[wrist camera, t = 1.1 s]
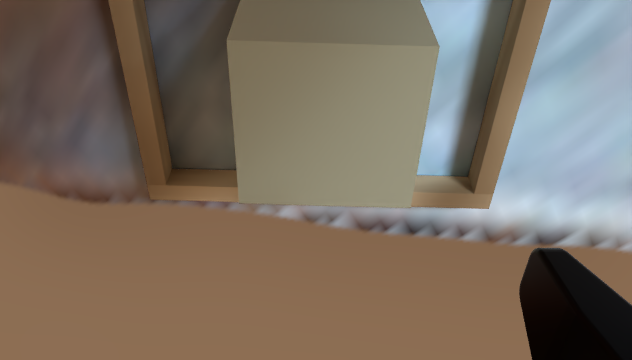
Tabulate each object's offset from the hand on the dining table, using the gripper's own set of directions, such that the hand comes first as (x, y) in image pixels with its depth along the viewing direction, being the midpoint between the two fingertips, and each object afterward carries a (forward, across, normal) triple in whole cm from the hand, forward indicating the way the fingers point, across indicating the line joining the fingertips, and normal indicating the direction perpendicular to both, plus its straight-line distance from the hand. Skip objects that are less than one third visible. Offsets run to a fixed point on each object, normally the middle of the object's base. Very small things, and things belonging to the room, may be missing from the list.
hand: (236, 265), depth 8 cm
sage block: (+13, -2, +2) cm, 13 cm away
